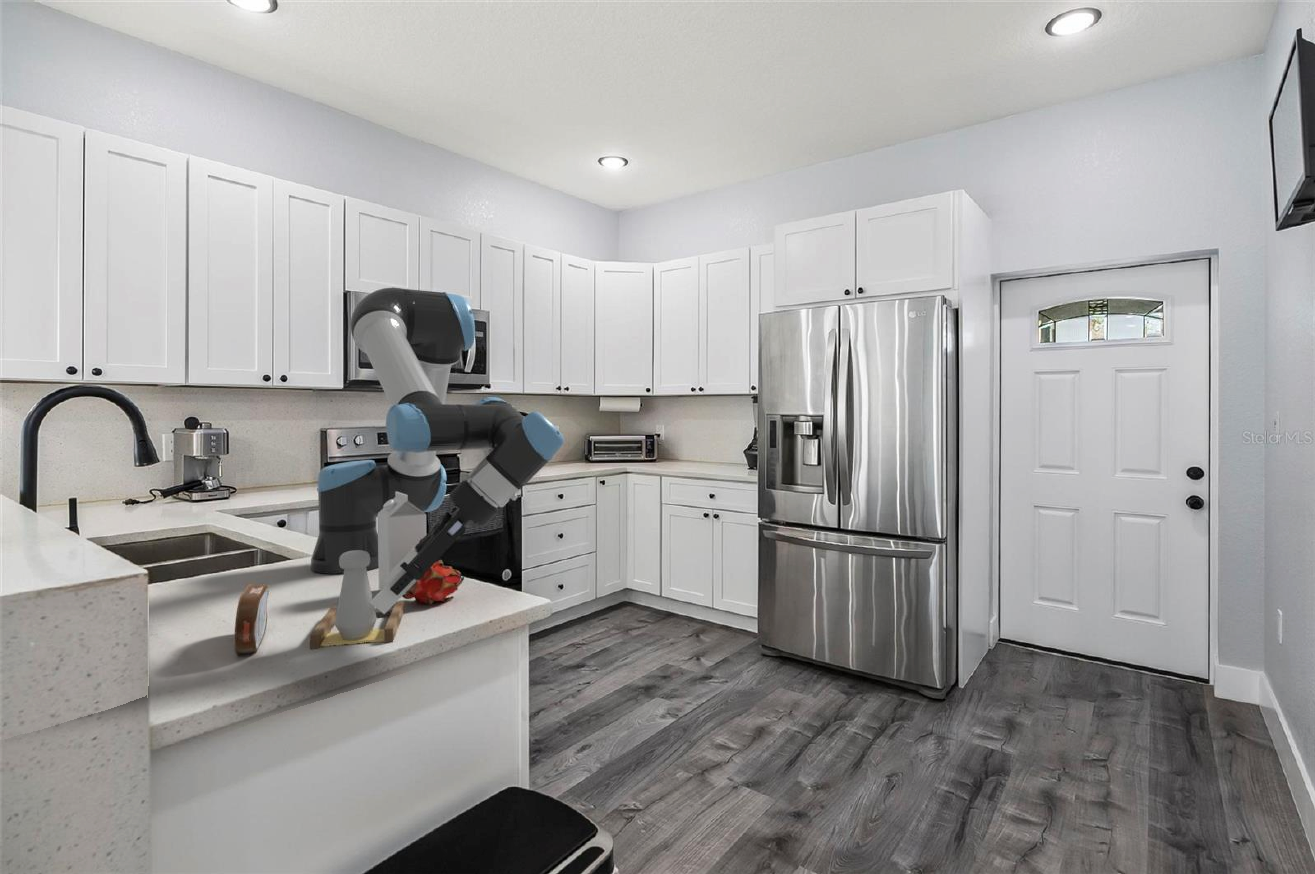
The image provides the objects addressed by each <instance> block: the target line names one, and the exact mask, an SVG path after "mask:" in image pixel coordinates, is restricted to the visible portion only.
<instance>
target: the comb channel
mask: <svg viewBox="0 0 1315 874" xmlns="http://www.w3.org/2000/svg"><path fill="white" fill-rule="evenodd" d="M337 608H338V605H334V606H332V605H331V607H330V608H328V611H327V612H326V613H325V614H324V616H323V617H322V619H320V621H319V623H318V624H317V625H316V626H315V628H314V629H313V630H312V632H311V633H310V635H309V649H310V650H311V649H312V648H314V649H320V648H321V643H322V641H323V640H324V638H325V637H326V635H327V634H328V633H331V631H332V630H331V629H333V628H334V627H335V618H336V613H337ZM375 612H376V618H385V617H386V618H387V617H389V618H388V620H387V621H386V625H385V627H384V628H383V629H384V640H385V641H384V643H393V642H394V641H395V638H394V637H396V635H397V632H398V630H399V627H400V624H401V621H402V619H403V616H404V614H405V603H404V600H402V601H401V600H400V601H397V602H396V603H395V604H394V605H393V608H390V609H389V610H388V611H387V612H386V613H385V614H383V613H382V612H381V611H380V610H378V609H375ZM397 629H398V630H397ZM393 640H394V641H393Z"/></svg>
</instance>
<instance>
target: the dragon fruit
mask: <svg viewBox="0 0 1315 874" xmlns="http://www.w3.org/2000/svg"><path fill="white" fill-rule="evenodd" d="M464 580H465V576H463V574H462V573H461V572H460V571H459V570H457V569H453V567H452V566H451V565H450V566H449V565H444V562H443V560H442V559H438V560H437V561H436V562H435V563H434V564H433V566H432V567H431V568H430V569H429V570H428V571H427V572H426V573H425V575H424V577H423V578H422V579H420V580H417V581H416V582H415V583H414V584H413V585H412V586H411V587H410V588H409V589H408V590H407V591H406V594H404V595H403V596H402V597H401V598H404V599H405V600H411V599H415V603H416V604H417V605H421V604H422V603H425V604H429V605H432V604H433V603H434V602H442V603H443V602H444V603H445V602H450V601H451V600H452V599H454V596H450V595H452V594H454V593H455V592H456V591H458V588H459V586H460V585H461V584H463V582H464ZM449 596H450V597H449ZM449 600H450V601H449Z"/></svg>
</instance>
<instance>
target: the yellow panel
mask: <svg viewBox="0 0 1315 874" xmlns="http://www.w3.org/2000/svg"><path fill="white" fill-rule="evenodd" d="M384 629H385V628H375V629H373V630H372V632H371V634H370V635H369V636H368V637H366V638H362V639H357V640H344V639H343V638H342V636H341V634H340V633H339V631H337V632H330V633H328V634H327V635H326V637H325V638H324V640H323V641H322V643H321V646H324V647H333V645H336V646H345V645H344V644H348V645H357V643H360V644H367V643H366V642H371V643H381V642H385V640H384ZM364 642H365V643H364ZM342 644H343V645H342ZM330 645H331V646H330ZM321 646H320V647H321Z"/></svg>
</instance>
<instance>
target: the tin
mask: <svg viewBox="0 0 1315 874" xmlns="http://www.w3.org/2000/svg"><path fill="white" fill-rule="evenodd" d="M268 597H269V586H268V585H267V584H263V583H262V584H261V583H260V584H250V583H248V585H247V586H246V588H245V589H244V591H243V592H242V593H241V595H240V597H239V600H238V603H237V608H236V616H235V624H234V635H233V636H234V653H235V654H236V655H240V654H251V653H256V652H258V650H259V648H260V646H261V644H262V643H263V640H264V637H265V636H266V635H265V633H266V629H267V624H268V612H267V611H268V610H267V607H268Z"/></svg>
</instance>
